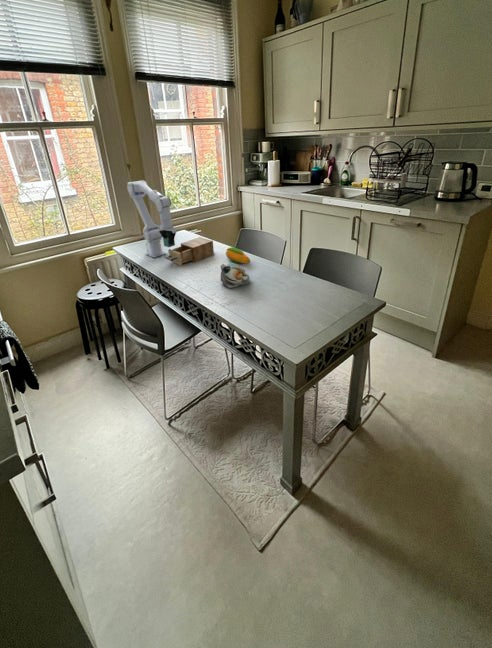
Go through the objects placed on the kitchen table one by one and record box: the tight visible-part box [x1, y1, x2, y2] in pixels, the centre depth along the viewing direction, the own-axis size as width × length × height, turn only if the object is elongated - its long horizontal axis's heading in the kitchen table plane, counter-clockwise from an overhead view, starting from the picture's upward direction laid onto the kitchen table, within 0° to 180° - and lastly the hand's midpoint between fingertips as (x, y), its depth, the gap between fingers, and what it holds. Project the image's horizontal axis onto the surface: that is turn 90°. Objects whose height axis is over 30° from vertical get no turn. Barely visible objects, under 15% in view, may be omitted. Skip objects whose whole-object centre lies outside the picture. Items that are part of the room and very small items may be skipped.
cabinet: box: [180, 236, 215, 263], centre depth 184 cm, size 15×12×9 cm
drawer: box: [164, 245, 194, 266], centre depth 176 cm, size 18×10×7 cm, turn 136°
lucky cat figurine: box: [220, 263, 250, 289], centre depth 146 cm, size 15×12×14 cm
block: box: [162, 237, 176, 248], centre depth 176 cm, size 4×4×4 cm
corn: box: [225, 246, 251, 265], centre depth 173 cm, size 7×8×20 cm
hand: (169, 243), depth 177 cm, fingers closed on block, 4 cm apart
